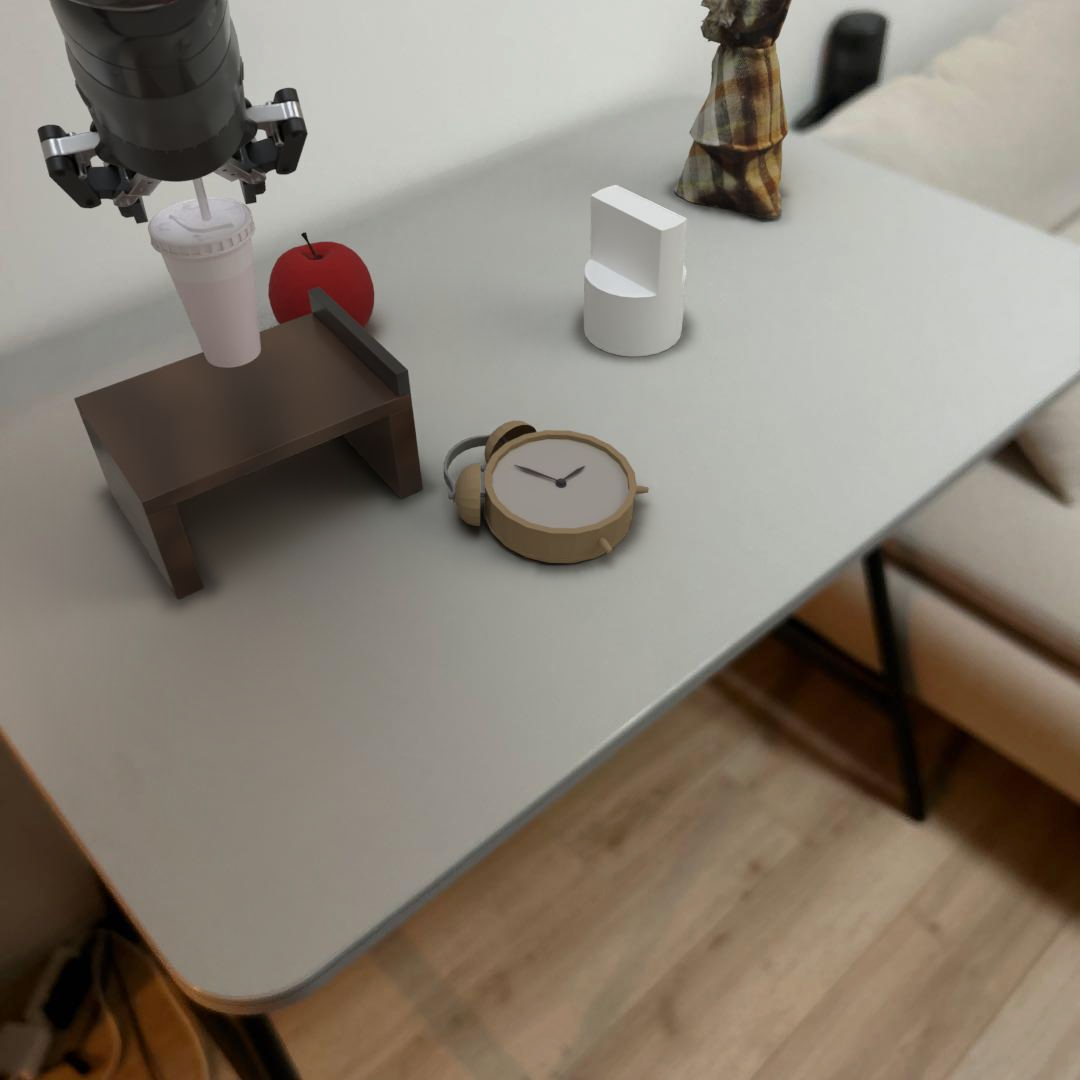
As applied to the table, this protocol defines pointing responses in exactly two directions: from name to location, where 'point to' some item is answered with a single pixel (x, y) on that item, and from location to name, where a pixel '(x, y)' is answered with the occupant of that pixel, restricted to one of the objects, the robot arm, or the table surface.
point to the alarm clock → (547, 492)
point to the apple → (320, 281)
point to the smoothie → (213, 272)
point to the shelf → (248, 423)
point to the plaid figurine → (740, 112)
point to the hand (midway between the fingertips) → (193, 197)
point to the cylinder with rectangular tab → (634, 274)
